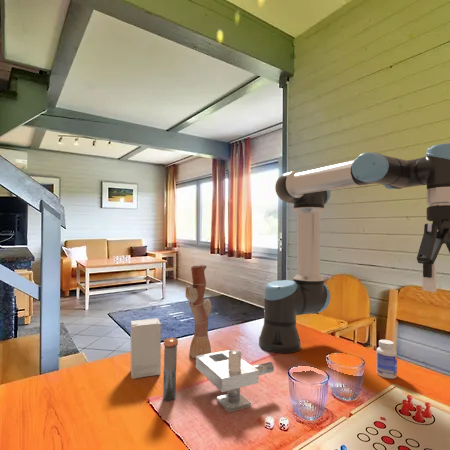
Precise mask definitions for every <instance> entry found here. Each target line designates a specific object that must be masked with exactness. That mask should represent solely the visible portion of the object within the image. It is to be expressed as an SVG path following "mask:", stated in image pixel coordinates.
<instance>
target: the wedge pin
mask: <svg viewBox="0 0 450 450" xmlns="http://www.w3.org/2000/svg"><path fill="white" fill-rule="evenodd" d="M178 345H179V339H178V338H175V337H167V338H165V339H163V346H164V353H163V354H164V355H163V356H164V357H163V381H162V382H163V383H162V384H163V387H162V390H163V391H162V401H164V402H173V401H175V399H176V390H177V389H176V388H177V387H176V386H177V354H178V353H177V352H178Z"/></svg>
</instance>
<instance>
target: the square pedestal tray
mask: <svg viewBox="0 0 450 450" xmlns="http://www.w3.org/2000/svg"><path fill="white" fill-rule="evenodd" d="M195 368H196V370H197V371H199V372H200V373H201V374H202V375H203V376H204V377H205V378H206V379H207V380H208V381H210V383H211V384H212V385H213V386H215V387H216V389H218V390H219V391H220V393H225V392H227V394H223V395H219V396H216V402H218V403H219V404H220V406H221V407H223V408H224V409H225V411H227V412H228V413H234V412H236V411H240V410H244V409H246V408H250V407H252V402H251V401H249V399H248V398H247V397H245V396H244V395H243V394H242V393H241V389H242V388H244V387H248V386H251V385H257V384H259V380H260V379H259V378H260V377H259V376H261V375H262V376H263V375H265V374H267V375H268V374H271V373H273V372H274V371H275V367H274V364H273V363H272V362H271V361H269V362H264V363H260V364H255V365H252V364H250V363H248V362H247V361H246V360H245V359H243V358H242V352H241V351H240V350H237V349H231V350H230V349H227V350H221V351H216V352H211V353H209V354H204V355H198V356H196V359H195Z"/></svg>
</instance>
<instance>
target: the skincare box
mask: <svg viewBox="0 0 450 450" xmlns="http://www.w3.org/2000/svg"><path fill="white" fill-rule="evenodd" d="M161 330H162V323H161V321H160V320H159V318H157V317H156V318H148V319H138V320H130V376H131V379H132V380H133V379H139V378H146V377H152V376H159V375H160V376H161V373H162V372H161V370H162V369H161V368H162V367H161V363H162V362H161V361H162V360H161V355H162V354H161V353H162V351H161V349H162V348H161V347H162V345H161V343H162V341H161V339H162V337H161V336H162V335H161V334H162V331H161Z"/></svg>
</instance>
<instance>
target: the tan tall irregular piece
mask: <svg viewBox="0 0 450 450" xmlns="http://www.w3.org/2000/svg"><path fill="white" fill-rule="evenodd" d="M190 268H191V269H190V271H191V278H192V285H187V286H186V288H185V298H186V299H187V301H189V307H190V310H191V313H192V316H193V317H192V318H193V321H194V331H193V332H194V333H193V337H192V339H191V342H190V346H189V357H190V358H192V359H195V360H196V356H198V355H204V354H209V353H212V349H211V343H210V338H209V316H210V314H211V312H212V302H211V300H210V298H205V291H206V286H207V280H206V275H205V271H206V269H207V265H206V264H201V265H193V266H191V267H190ZM204 298H205V299H204Z"/></svg>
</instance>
